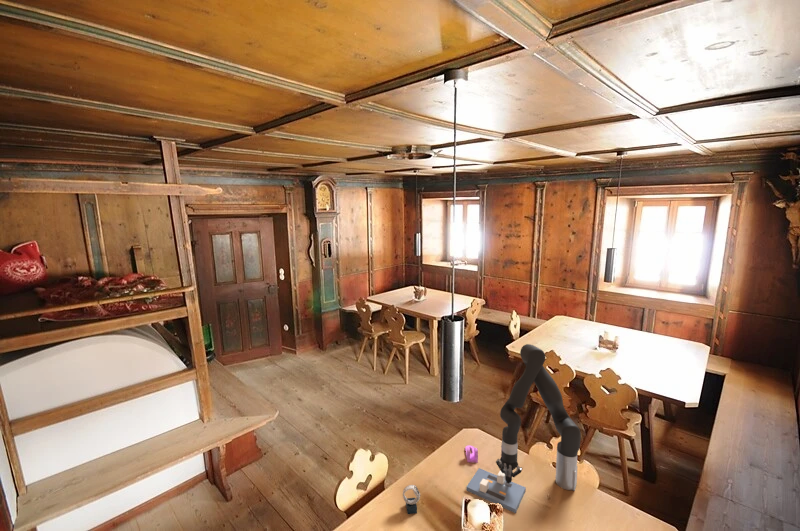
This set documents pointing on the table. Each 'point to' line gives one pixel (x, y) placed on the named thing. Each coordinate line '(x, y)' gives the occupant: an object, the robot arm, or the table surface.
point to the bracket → (473, 456)
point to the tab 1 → (484, 485)
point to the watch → (411, 499)
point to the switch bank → (497, 490)
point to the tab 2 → (501, 478)
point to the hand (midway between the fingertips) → (508, 482)
